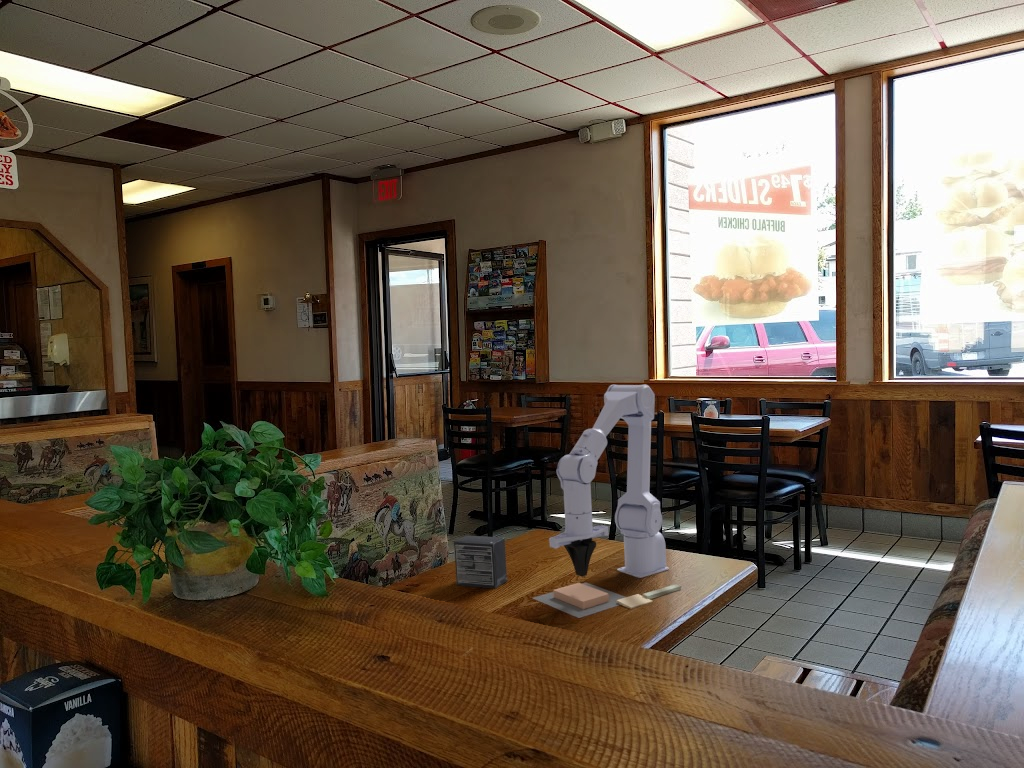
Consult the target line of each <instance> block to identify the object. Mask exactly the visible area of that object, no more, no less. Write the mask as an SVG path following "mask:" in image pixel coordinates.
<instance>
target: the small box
mask: <svg viewBox="0 0 1024 768" xmlns="http://www.w3.org/2000/svg"><path fill="white" fill-rule="evenodd" d="M505 541H506V540H505V537H500V536H499V537H497V536H483V535H482V536H481V535H480V536H479V535H464V536H463V537H460V538H458V539H456V540H454V541H453V546H454V559H455V561H454V563H455V564H454V565H455V576H456V578H455V579H456V582H455V583H456V586H459V587H470V588H471V587H472V588H480V587H483V589H498V588H499V587H500V586H502V585H503V584H505V583H506V582H508V575H507V574H508V573H507V558H506V556H507V555H506V542H505Z"/></svg>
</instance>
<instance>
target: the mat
mask: <svg viewBox="0 0 1024 768" xmlns="http://www.w3.org/2000/svg"><path fill="white" fill-rule="evenodd" d="M581 584H584V585H586V586H589V587H592V588H595V589H597V590H600V591H603V592H606V593H608V594H609V602H605V603H602V604H599V605H596V606H593V607H589V608H586V609H581V608H579V607H576V606H574V605H572V604H569V603H567V602H564V601H562V600H559V599H557V598H554V592H553V591H551V592H548V593H545V594H541V595H538V596H535V597H532V600H535V601H538V602H540V603H542V604H545V605H547V606H550V607H552V608H554V609H557V610H559V611H561V612H563V613H566V614H568V615H570V616H572V617H576V618H578V619H580V618H584V617H586V616H587V617H588V616H590V615H593V614H597V613H600V612H603V611H606V610H609V609H612V608H615V607H619V606H622V605H621V604H619V603H617V600H619V599H622V598H626V597H627V596H624V595H622V594H618V593H616V592H614V591H610V590H608V589H605V588H602V587H600V586H597V585H594V584H591V583H588V582H583V583H581Z"/></svg>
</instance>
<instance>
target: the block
mask: <svg viewBox="0 0 1024 768" xmlns="http://www.w3.org/2000/svg"><path fill="white" fill-rule="evenodd" d="M552 592H554V598H557V599H559V600H562V601H564V602H567V603H569V604H572V605H574V606H576V607H579V608H581V609H586V608H589V607H593V606H596V605H599V604H602V603H605V602H609V594H608V593H606V592H603V591H600V590H597V589H595V588H592V587H589V586H586V585H584V584H582V583H580V582H577V583H573V584H570V585H569V584H568V585H566V586H562V587H559V588H555V589H553V590H552Z"/></svg>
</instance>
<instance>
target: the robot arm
mask: <svg viewBox="0 0 1024 768" xmlns="http://www.w3.org/2000/svg"><path fill="white" fill-rule="evenodd" d="M655 395H656V394H655V392H654V391H653V390H652V388H651V387H650V386H649V385H648V384H639V385H638V384H635V385H634V384H611V385H609V386H608V388H607V390H606V391H605V393H604V394H603V402H604V404H603V407H602V409H601V411H600V413H599V415H598V417H597V419H596V421H595V423H594V424H593V426H592V428H587V429H585V430H584V431H583V432H582V433H581V436H580V437H579V439H578V440H577V442H576V443H575V445H574V447H573V448H572V449H571V451H570V453H569V454H565V455H564V456H562V457H561V458H560V459H559V461H558V463H557V468H556V470H555V471H556V475H557V478H558V479H559V482H560V488H561V489H562V490H563V504H564V505H563V506H564V522H565V523H564V524H565V529H564V531H563V532H561V533H559V534H556V535H554V536H551V537H549V538H548V542H549V548H552V549H554V550H555V549H559V548H560V547H562V546H563V547H564V548H565V550H566V553H568V555H569V557H570V560H571V562H572V564H573V568H574V572H575V575H576V576H579V577H585V576H587V575H588V571H589V565H590V561H591V558H592V555H593V553H594V551H595V549H596V547H597V541H596V540H593V539H595V538H598V537H608V536H609V526H606V525H603V524H600V525H597V526H593V508H592V489H591V486H592V485H591V482H592V481H593V480H594V479H595V477H596V473H597V468H598V467H597V466H598V464H599V462H598V460H599V459H600V457H601V455H602V454H603V452H604V451H605V449H606V447H607V445H608V439H607V436H608V435H609V433H611V431H612V429H614V427H615V426H616V424H617V423H618V421H620V419H622V420H623V421H624V422H625V423H626V424H627V426H628V432H627V433H628V438H627V472H626V473H627V475H626V485H627V486H626V492H625V493H624V494H622V496H620V497H619V498H618V499H617V507H616V511H615V513H614V522H615V525H616V528H617V529H618V530H620V534H621V535H623V547H624V550H623V551H624V566H622V567H619V568H617V571H618V572H620V573H623V574H627V575H630V576H632V577H635V578H639V579H640V578H644V577H648V576H651V575H655V574H658V573H662V572H665V571H669V570H670V568H669V567H668V566H667V553H666V551H667V549H666V548H667V547H666V541H665V538H664V536H663V534H662V533H661V532H660V530H661V528H662V525H663V515H662V512H661V501H660V500H659V499H657V497H655V496H654V495H653V494H652V493H650V488H651V487H650V483H651V481H650V480H651V477H650V476H651V444H652V443H651V442H652V440H651V439H652V437H651V436H652V421H653V420H654V419H655V407H656V406H655V401H656V398H655Z"/></svg>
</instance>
